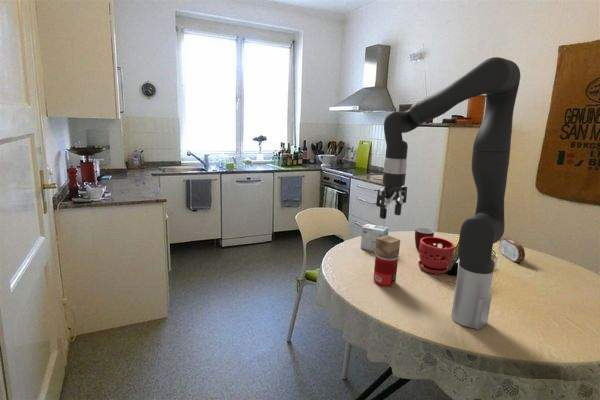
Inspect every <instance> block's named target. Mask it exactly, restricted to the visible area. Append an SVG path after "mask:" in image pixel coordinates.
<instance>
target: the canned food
mask: <svg viewBox="0 0 600 400" xmlns="http://www.w3.org/2000/svg"><path fill="white" fill-rule="evenodd" d="M398 263H399V255H398V256H396V257H393V258H391V259H387V258H384V257H382V256H379V255H377V254H375V259H374V270H373V271H374V272H373V282H374V284H376V285H377V286H380V287H384V288H385V287H386V288H390V287H393V286H395V284H396V282H397V281H396V280H397V272H398V271H397V270H398V265H399V264H398Z"/></svg>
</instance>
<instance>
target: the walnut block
mask: <svg viewBox="0 0 600 400" xmlns="http://www.w3.org/2000/svg"><path fill="white" fill-rule="evenodd" d="M400 247H401V239H399V238H397V237H394V236H391V235H389V234H388V235H385V236H382V237H379V238H376V248H375V252H374V255H376V254H377V255H379V256H382V257H384V258H387V259H391V258H393V257H396V256H398V257H399V256H400Z"/></svg>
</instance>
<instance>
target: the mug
mask: <svg viewBox="0 0 600 400" xmlns="http://www.w3.org/2000/svg"><path fill="white" fill-rule="evenodd" d="M434 233H435V232H434V230H432V229H429V228H424V227H417V228H415V231H414V243H415V248H416V250H417V252H418V253H419V245H420V240H421V238H423V237H435V236H434V235H435V234H434ZM430 244H431V243H428V245H430Z"/></svg>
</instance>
